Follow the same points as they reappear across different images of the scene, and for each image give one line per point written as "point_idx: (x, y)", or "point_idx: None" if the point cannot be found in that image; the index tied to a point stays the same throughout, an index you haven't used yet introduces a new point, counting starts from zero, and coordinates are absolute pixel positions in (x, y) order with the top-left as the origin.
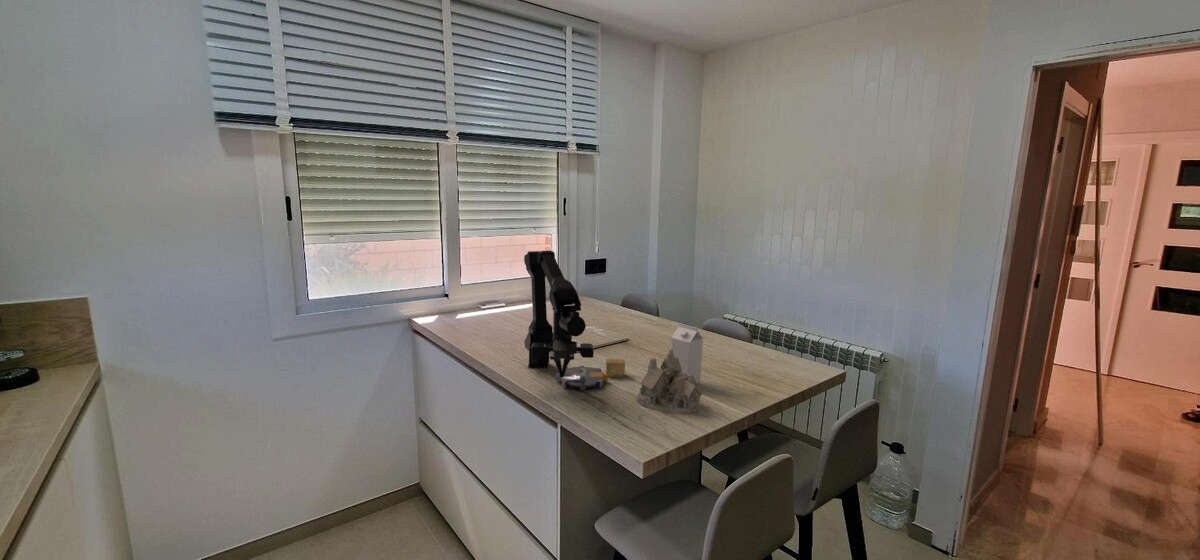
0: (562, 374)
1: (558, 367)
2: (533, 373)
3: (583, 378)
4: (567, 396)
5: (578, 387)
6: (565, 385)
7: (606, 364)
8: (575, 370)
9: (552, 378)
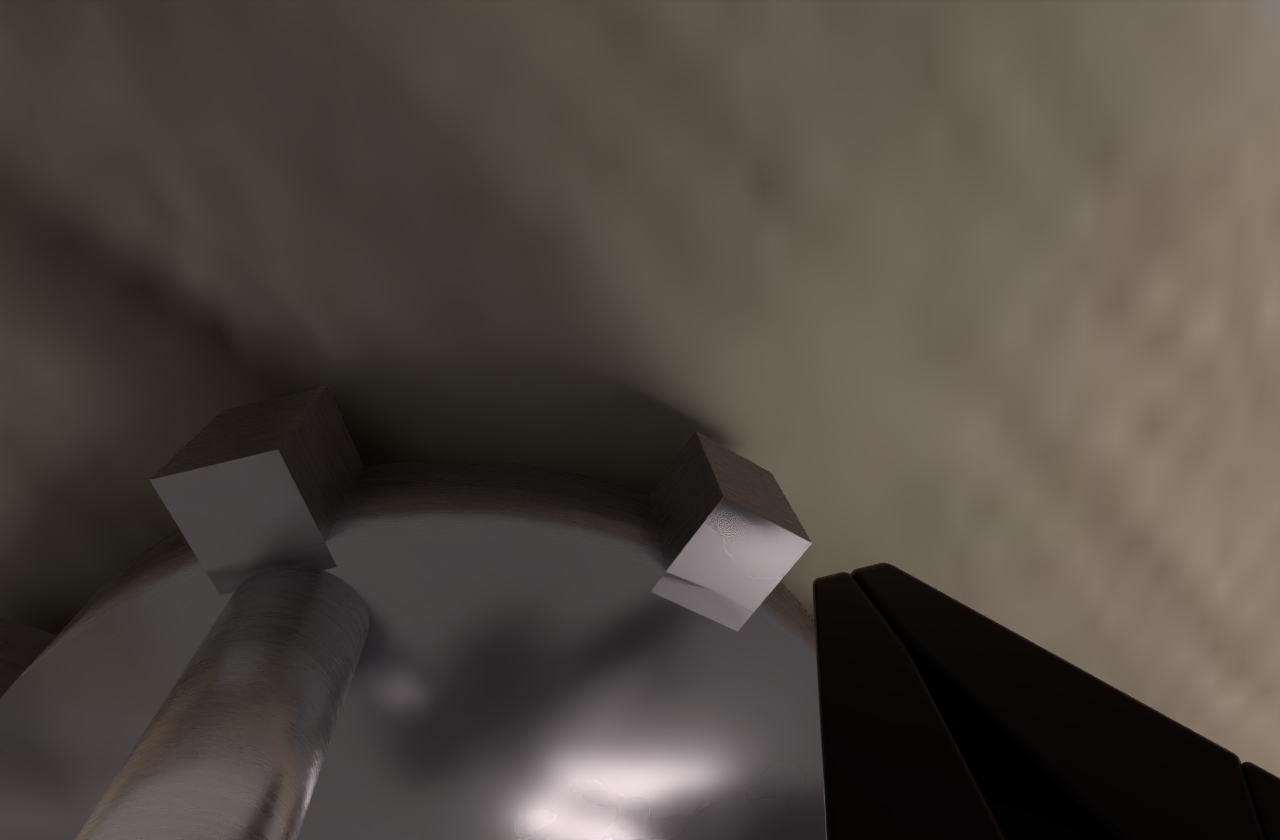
0: (868, 621)
1: (1231, 790)
2: None
3: (199, 656)
4: (539, 35)
5: (398, 472)
6: (695, 458)
7: None
8: None
9: None
